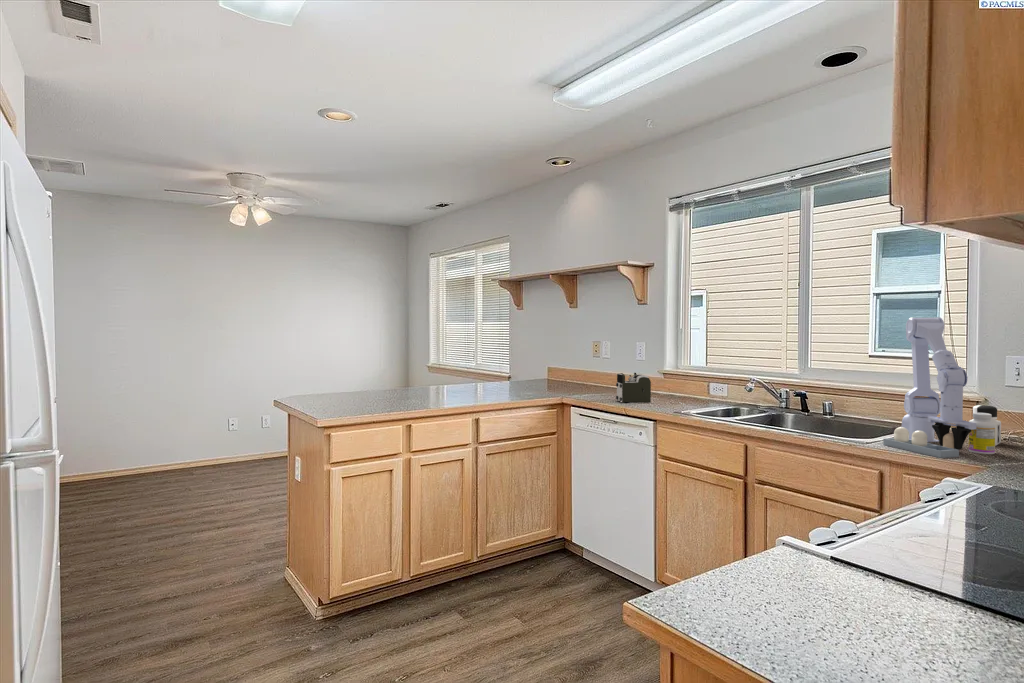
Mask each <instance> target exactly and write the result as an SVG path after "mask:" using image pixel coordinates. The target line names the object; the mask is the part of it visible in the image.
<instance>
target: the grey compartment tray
mask: <svg viewBox="0 0 1024 683" xmlns="http://www.w3.org/2000/svg"><path fill="white" fill-rule="evenodd" d="M882 445H883V446H887V447H891V448H896V449H899V450H900V449H901V450H903V451H909V452H913V453H917V454H921V455H926V456H929V457H934V458H939V459H945V458H958V457H960V450H958V449H953V448H948V447H943V446H940V444H939V445H938V444H933V443H930V442H927V446H917V445H912V440H910V439H909V442H899V441H894V437H886V438H883V444H882Z"/></svg>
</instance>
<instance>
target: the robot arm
mask: <svg viewBox="0 0 1024 683" xmlns="http://www.w3.org/2000/svg"><path fill="white" fill-rule="evenodd" d="M944 331H945V322H944V319H943V318H942V317H940V316H937V317H909V318H908V319H907V320H906V323H905V336H906V341H908V342H909V343H911V344H910V345H911V360H912V361H911V362H912V376H913V377H912V380H913V388H911V389H910V390H909V391H907V392H906V393H905V395H904V401H903V408H904V409H903V410H904V411H905V415H904V416H903V417H902V419H901V427H904V428H906V429H907V430H908V431H909V439H910V440H912V434H913V432H915V431H918V430H920V431H923V432H925V433H926V434H927V443H934V442H935V443H937V442H939V446H943V437H944V435H945V434H947V433H950V431H951V433H953V437H954V449H958V450H959V451H961V450H962V449H963V446H964V444H965V441H966V439H967V438H968V437H969V433H970V432H971V430H973V429H976V423H972V422H969V420H963V416H964V415H963V409H964V404H963V403H964V387H966V386H967V384H968V373H967V371H966V369H965V368H963V367H962V366H959V365H958V363H957V360H956V358H955V355H954V353H953V351H951V350H947V346H946V343H945V340H944V337H943V333H944ZM929 347H930V349H931V350H932V353H933V354H932V356H931V359H932V362H933V364H934V366H935V369H936V371H937V376H936V381H937V385H938V391H939V392H940V394H939V393H938V392H936V391H935V390H934V389H932V387H931V372H930V353H929ZM939 414H940V416H938V415H939ZM935 434H936V436H937V439H935Z"/></svg>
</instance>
